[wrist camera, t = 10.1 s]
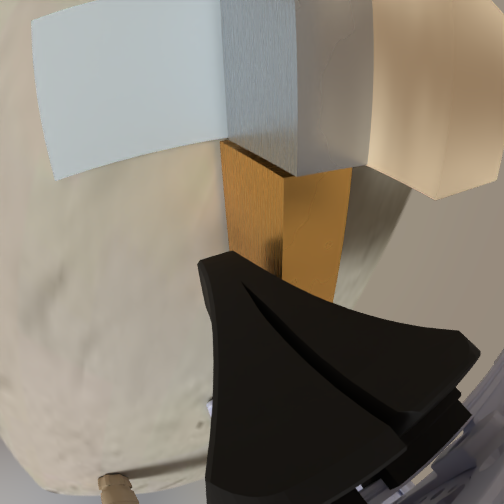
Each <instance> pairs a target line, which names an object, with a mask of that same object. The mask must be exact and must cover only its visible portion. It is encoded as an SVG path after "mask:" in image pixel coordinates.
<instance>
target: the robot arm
mask: <svg viewBox="0 0 504 504" xmlns="http://www.w3.org/2000/svg"><path fill="white" fill-rule="evenodd" d="M197 266H198V271H199V276H200V281H201V286H202V291H203V296H204V301H205V306H206V308H207V311H208V314H209V316H210V319H211V322H212V331H213V359H214V367H213V400H211V401H209V402H208V403H207V405H206V406H207V408H208V411H209V413H210V416H211V429H210V440H209V448H208V456H207V465H206V473H205V481H206V497H207V504H504V349H503V350H502V352H501V353H500V355H499V356H498V357H497V359H496V360H495V362H494V365H493V366H492V367H491V369H490V370H489V371H488V373H487V374H486V375H485V377H484V378H483V379H482V380H481V382H480V383H479V384H478V385H477V387H476V388H475V389H474V390H473V391H472V393H471V394H470V395H469V396H468V397H467V398H466V399H465V401H464V402H463V403H461V402H460V401H459V400H458V399H459V398H460V396H461V392H460V391H459V390H458V389H457V388H456V386H457V385H458V383H459V382H460V381H461V380H462V379H463V377H464V376H465V375H466V374H467V373H468V371H469V370H470V369H471V368H472V366H473V365H474V364H475V363H476V361H477V360H478V358H479V357H480V350H479V349H478V348H477V347H476V346H475V345H474V344H472V343H471V342H470V341H469V340H468V339H467V338H466V337H465V336H464V335H463V334H462V333H461V332H460V331H457V330H446V329H436V328H426V327H420V326H413V325H409V324H403V323H398V322H394V321H389V320H384V319H381V318H377V317H374V316H370V315H367V314H363V313H360V312H357V311H354V310H351V309H348V308H345V307H342V306H340V305H337V304H334V303H332V302H329V301H326V300H324V299H322V298H319V297H317V296H315V295H312V294H310V293H308V292H306V291H304V290H302V289H300V288H298V287H296V286H294V285H292V284H290V283H288V282H286V281H284V280H282V279H280V278H279V277H277V276H275V275H273V274H271V273H270V272H268V271H266V270H264V269H263V268H261V267H259V266H258V265H256V264H254V263H253V262H251V261H249V260H248V259H246V258H245V257H243V256H241V255H240V254H238V253H236V252H235V251H233V250H232V251H229V252H225V253H222V254H219V255H216V256H212V257H209V258H206V259H202V260H200V261H199V263H198V264H197ZM462 430H463V431H464V433H463V435H462V436H460V437H459V438H458V439H457V440H455V441H454V442H453V443H452V444H450V443H451V442H452V441H453V440H454V439H455V438H456V437H457V435H458V434H459V433H460V432H461V431H462ZM449 444H450V445H449ZM448 445H449V446H448ZM447 446H448V447H447ZM446 447H447V448H446ZM445 448H446V449H445ZM444 449H445V450H444ZM443 450H444V451H443ZM442 451H443V452H442ZM441 452H442V453H441ZM440 453H441V454H440ZM439 454H440V455H439ZM438 455H439V456H438ZM437 456H438V457H437ZM436 457H437V459H436V460H435V461H434V462H433V464H432V465H431V468H432V469H433V470H434V471H433V472H431V473H430V474H429V475H428V476H427V477H425V478H424V479H423V480H422V481H421V482H419V483H418V484H417V485H416V486H415V485H414V484H413V483H412V482H411V480H412V479H413V478H414V477H415V476H416V475H418V474H419V473H420V472H421V471H422V470H423V469H424V468H425V467H427V466H428V465H429V464H430V463H431V462H432V461H433V460H434V459H435V458H436Z"/></svg>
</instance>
